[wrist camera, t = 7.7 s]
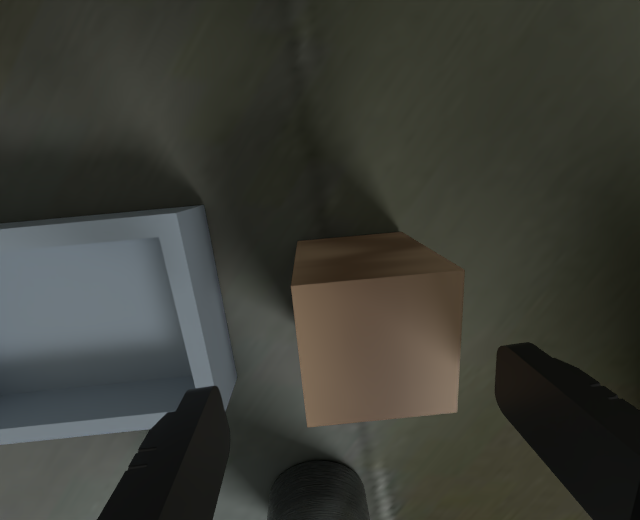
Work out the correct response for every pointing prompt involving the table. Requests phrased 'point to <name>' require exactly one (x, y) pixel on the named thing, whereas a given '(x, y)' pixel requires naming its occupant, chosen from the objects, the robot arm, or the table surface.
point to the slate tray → (107, 322)
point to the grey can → (318, 494)
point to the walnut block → (376, 328)
